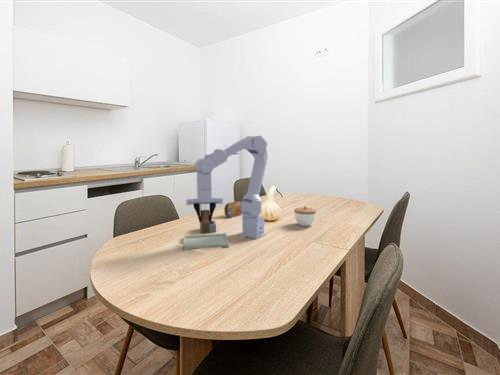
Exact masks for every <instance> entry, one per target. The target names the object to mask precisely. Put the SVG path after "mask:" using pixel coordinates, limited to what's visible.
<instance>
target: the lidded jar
mask: <svg viewBox="0 0 500 375" xmlns="http://www.w3.org/2000/svg"><path fill="white" fill-rule="evenodd" d="M316 213H317V211H316V208H312V207H307V206H304V207H296V208H294V219H295V221H296V223H297V224H298V225H299V226H301V227H302V226H303V227H310V226H311V225H312V224H313V223H314V222H315V220H316V216H317V214H316Z"/></svg>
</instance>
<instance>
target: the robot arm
mask: <svg viewBox="0 0 500 375" xmlns="http://www.w3.org/2000/svg"><path fill="white" fill-rule="evenodd" d="M267 147H268V142H267V141H266V139H265V137H263V136H262V135H257V136H256V135H254V136H251V135H249V136H246V137H244V138H242V139H239V140H238V141H236V142H234V143H233V144H231V145H230V146H228V147H226V148H225V149H221V148H220V149H217V148H216V149H214V150H213V152H212V153H210V154H206V155H204V158H198V159H197V160H196V162H195V163H194V164H195V165H193V168H194V170H195V171H196V189H197V190H196V191H197V193H196V194H197V197H196V198H188V199H186V200H185V202H186V204H185V205H186V206H190V205H193V208H194V210H195V212H196V215H197V218H198V222H199V223H200V222H201V213H200V211H201V205H209V216H210V222H211V221H213V220H212V218H213V215H214V212H215V210H216V207H217V204H221V205H223V203H224V199H223V198H222V197H221V198H219V197H212V196H213V195H212V194H213V192H212V172H213V170H215V168H217V167H219V166H220V165H222V164H224V163H226V162H227V160H228V158H229V157H231V156H232V155H235V154H236V153H238V152H240V151H242V150H246V151H247V152H248V153H249V154H250V155H252V157H253V158H254V160H253V165H252V168H251V170H252V171H251V174H250V178H249V182H248V183H249V184H248V187H247V192H246V194H245V195H243V198H242V200H241V203H240V210H241V211H242V214H241V215H242V221H241V222H242V232H240V233H238V235H240V236H243V237H245V238H249V239H254V240H256V239H259V238H260V237H262V236H265V235H266V234H265V220H264V217H261V216H260V214H261V213H262V210H263V209H262V199H261V196H260V192H261V189H262V186H263V185H262V184H263V179H264V176H265V170H266V168H267V167H266V166H267V162H268V158H269V157H268V151H267Z"/></svg>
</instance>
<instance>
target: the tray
mask: <svg viewBox="0 0 500 375" xmlns="http://www.w3.org/2000/svg"><path fill="white" fill-rule="evenodd" d="M213 247H220V248H230V242H229V239H228V235H227V233H210V234H209V233H206V234H194V235H193V234H191V235H184V236H183V242H182V250H183V251H188V250H199V249H200V248H213Z"/></svg>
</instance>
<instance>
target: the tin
mask: <svg viewBox="0 0 500 375" xmlns="http://www.w3.org/2000/svg"><path fill="white" fill-rule="evenodd" d="M241 202H242V200H235V201H232V202H228V203H226V204H225V206H224V209H223V210H224V216H226V217H227V218H230V219H233V218H235V216H236V217H238V216H239V217H240V216H241V215H242V211H241V210H240V203H241ZM232 217H233V218H232Z"/></svg>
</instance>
